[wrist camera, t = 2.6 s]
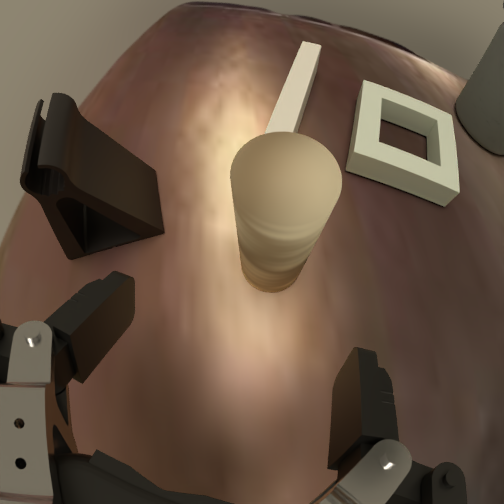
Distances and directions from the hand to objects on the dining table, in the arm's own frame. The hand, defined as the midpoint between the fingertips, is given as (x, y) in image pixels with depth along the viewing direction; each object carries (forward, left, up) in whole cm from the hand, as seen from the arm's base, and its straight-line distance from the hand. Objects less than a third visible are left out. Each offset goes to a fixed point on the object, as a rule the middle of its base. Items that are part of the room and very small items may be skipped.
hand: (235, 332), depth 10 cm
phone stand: (+14, -6, -12) cm, 19 cm away
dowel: (0, -6, -11) cm, 13 cm away
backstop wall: (+2, -21, -11) cm, 24 cm away
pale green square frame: (-9, -21, -11) cm, 26 cm away
